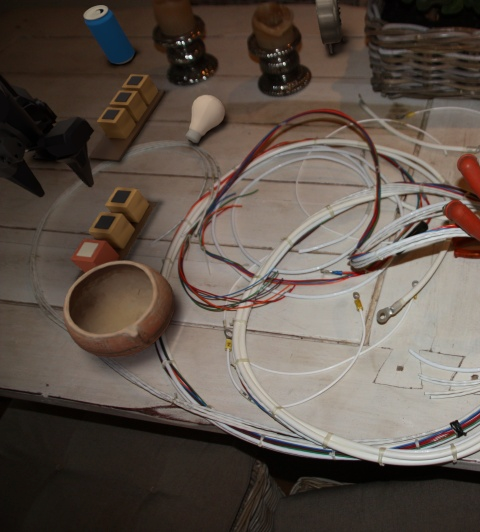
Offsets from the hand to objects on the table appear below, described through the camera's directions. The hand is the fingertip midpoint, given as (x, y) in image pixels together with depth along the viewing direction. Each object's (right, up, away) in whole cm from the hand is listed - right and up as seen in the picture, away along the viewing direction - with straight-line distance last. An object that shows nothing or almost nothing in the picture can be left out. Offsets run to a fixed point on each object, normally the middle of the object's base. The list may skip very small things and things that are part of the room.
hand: (67, 190), depth 85 cm
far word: (-7, +19, +34) cm, 39 cm away
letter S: (0, -12, +11) cm, 16 cm away
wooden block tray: (+1, -7, +15) cm, 16 cm away
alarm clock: (+37, +41, +42) cm, 70 cm away
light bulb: (+12, +17, +30) cm, 36 cm away
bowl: (+9, -22, +4) cm, 24 cm away
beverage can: (-16, +40, +49) cm, 65 cm away
